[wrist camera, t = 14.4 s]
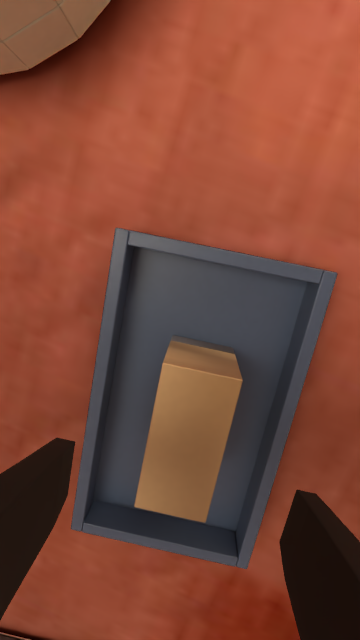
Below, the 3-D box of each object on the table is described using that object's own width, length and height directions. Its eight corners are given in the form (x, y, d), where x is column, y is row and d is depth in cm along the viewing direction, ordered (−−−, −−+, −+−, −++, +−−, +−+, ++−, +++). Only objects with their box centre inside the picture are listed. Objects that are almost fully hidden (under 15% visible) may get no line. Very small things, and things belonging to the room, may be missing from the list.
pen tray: (84, 499, 19) (70, 529, 17) (126, 229, 16) (115, 227, 14) (242, 534, 19) (247, 570, 17) (320, 269, 15) (338, 272, 13)
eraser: (149, 449, 18) (133, 507, 14) (172, 334, 16) (162, 362, 12) (205, 461, 17) (205, 523, 14) (233, 347, 16) (243, 380, 12)
